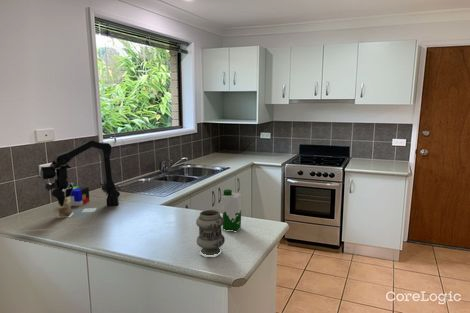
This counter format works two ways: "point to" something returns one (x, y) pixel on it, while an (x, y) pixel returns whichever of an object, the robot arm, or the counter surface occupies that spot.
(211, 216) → the apothecary jar
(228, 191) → the milk carton
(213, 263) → the counter surface
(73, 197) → the puzzle toy
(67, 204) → the maple cube
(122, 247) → the counter surface
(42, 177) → the robot arm
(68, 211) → the walnut cube
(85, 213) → the mat
